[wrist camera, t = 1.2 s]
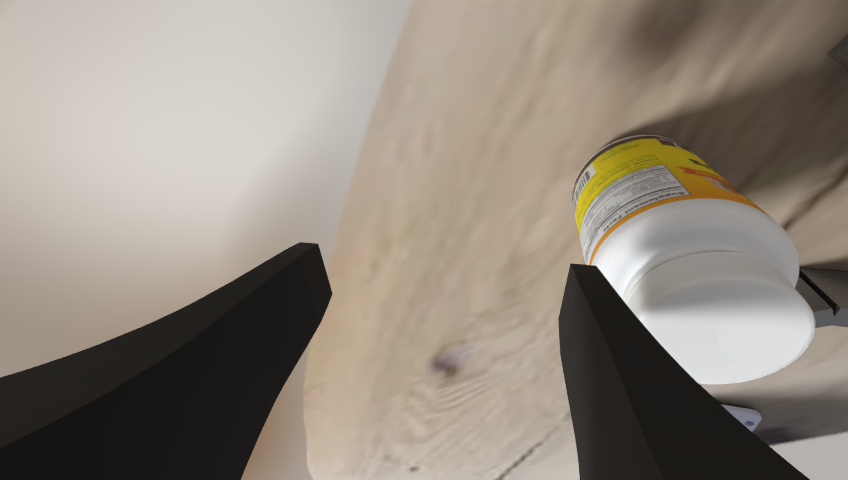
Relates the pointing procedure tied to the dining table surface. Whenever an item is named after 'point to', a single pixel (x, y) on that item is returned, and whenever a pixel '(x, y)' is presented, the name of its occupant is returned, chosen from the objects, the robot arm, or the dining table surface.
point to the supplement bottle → (692, 259)
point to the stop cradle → (826, 289)
